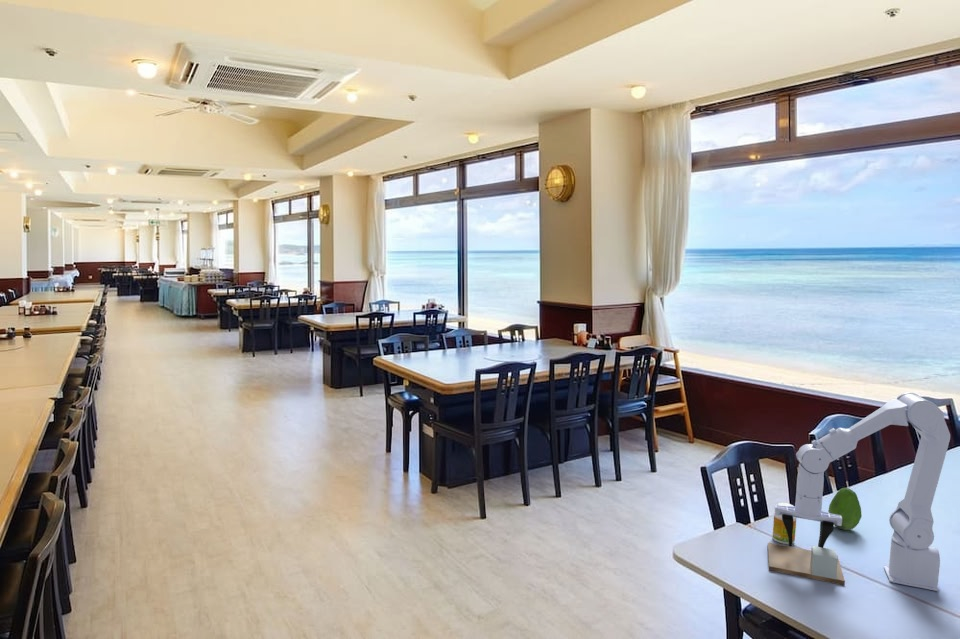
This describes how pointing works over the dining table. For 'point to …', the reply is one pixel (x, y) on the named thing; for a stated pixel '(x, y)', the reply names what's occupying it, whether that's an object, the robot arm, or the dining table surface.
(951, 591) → the dining table surface
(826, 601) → the dining table surface
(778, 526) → the supplement bottle
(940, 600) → the dining table surface
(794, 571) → the brown wooden board
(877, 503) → the dining table surface
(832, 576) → the pale blue-gray cube
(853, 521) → the avocado
